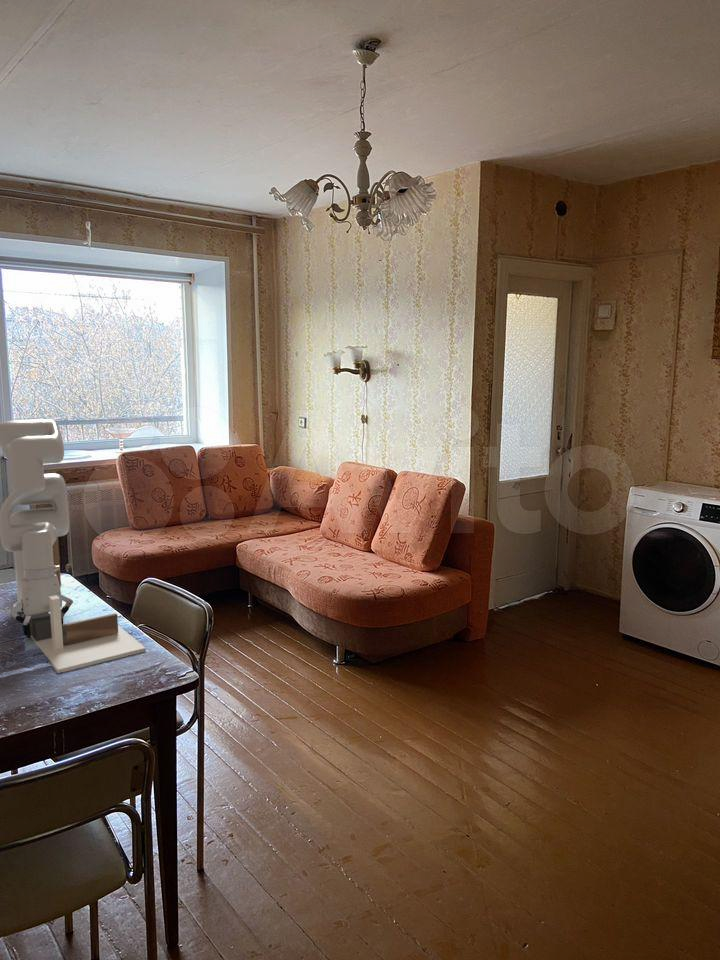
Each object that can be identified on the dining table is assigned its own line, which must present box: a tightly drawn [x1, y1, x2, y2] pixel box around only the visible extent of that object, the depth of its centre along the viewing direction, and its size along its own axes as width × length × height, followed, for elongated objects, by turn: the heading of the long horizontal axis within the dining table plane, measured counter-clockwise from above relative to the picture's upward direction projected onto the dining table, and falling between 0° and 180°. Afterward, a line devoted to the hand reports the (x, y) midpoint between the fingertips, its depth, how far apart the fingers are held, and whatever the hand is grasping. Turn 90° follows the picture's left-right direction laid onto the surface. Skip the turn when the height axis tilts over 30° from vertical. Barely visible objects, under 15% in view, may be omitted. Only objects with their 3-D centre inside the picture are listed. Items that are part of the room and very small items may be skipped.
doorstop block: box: [29, 612, 52, 641], centre depth 198 cm, size 8×5×6 cm, turn 38°
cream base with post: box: [30, 595, 146, 674], centre depth 193 cm, size 30×22×15 cm
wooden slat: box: [62, 612, 119, 645], centre depth 194 cm, size 1×15×6 cm, turn 128°
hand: (43, 633), depth 196 cm, fingers open, 7 cm apart
